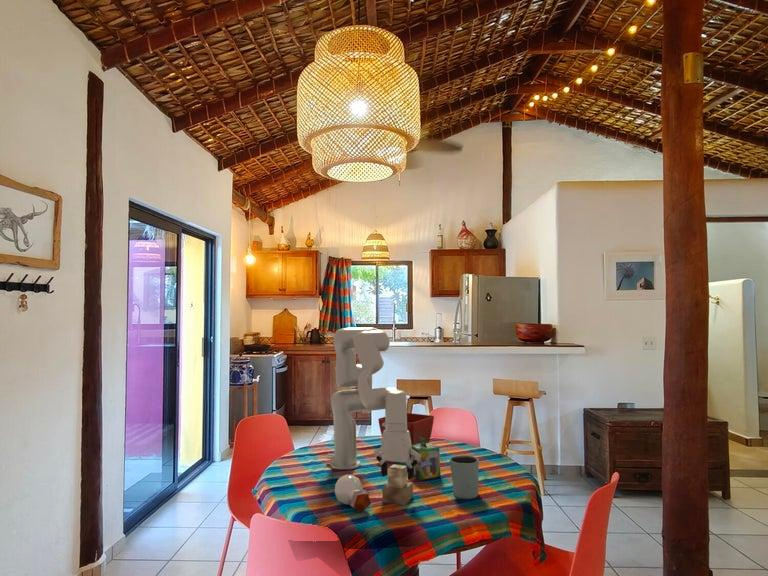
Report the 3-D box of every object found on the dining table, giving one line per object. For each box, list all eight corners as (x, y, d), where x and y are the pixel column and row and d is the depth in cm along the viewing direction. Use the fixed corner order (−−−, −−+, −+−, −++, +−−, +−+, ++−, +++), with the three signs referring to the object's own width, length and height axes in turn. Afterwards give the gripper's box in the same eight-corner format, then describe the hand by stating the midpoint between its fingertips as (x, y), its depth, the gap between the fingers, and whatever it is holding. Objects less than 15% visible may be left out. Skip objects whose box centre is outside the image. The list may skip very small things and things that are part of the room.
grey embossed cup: (473, 501, 163) (472, 465, 164) (445, 496, 168) (444, 460, 169) (484, 491, 172) (482, 457, 172) (457, 487, 177) (456, 453, 178)
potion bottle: (344, 501, 169) (365, 521, 157) (324, 490, 165) (343, 509, 152) (359, 477, 172) (380, 495, 159) (339, 465, 168) (360, 482, 155)
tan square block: (382, 502, 165) (382, 487, 165) (392, 494, 172) (391, 480, 172) (404, 505, 161) (403, 490, 162) (413, 497, 169) (412, 482, 169)
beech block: (387, 486, 166) (387, 468, 166) (394, 481, 170) (393, 464, 171) (401, 488, 164) (400, 470, 164) (407, 483, 168) (406, 466, 169)
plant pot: (401, 447, 235) (400, 411, 236) (435, 452, 224) (434, 415, 225) (377, 456, 219) (377, 418, 220) (413, 463, 208) (412, 423, 209)
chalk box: (441, 477, 189) (440, 438, 189) (419, 480, 185) (418, 441, 186) (430, 470, 197) (429, 433, 198) (409, 473, 194) (408, 436, 195)
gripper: (369, 427, 169) (370, 477, 168) (415, 431, 161) (417, 483, 160) (378, 422, 175) (379, 471, 174) (423, 426, 168) (424, 476, 167)
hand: (397, 477), depth 167 cm, fingers open, 9 cm apart
